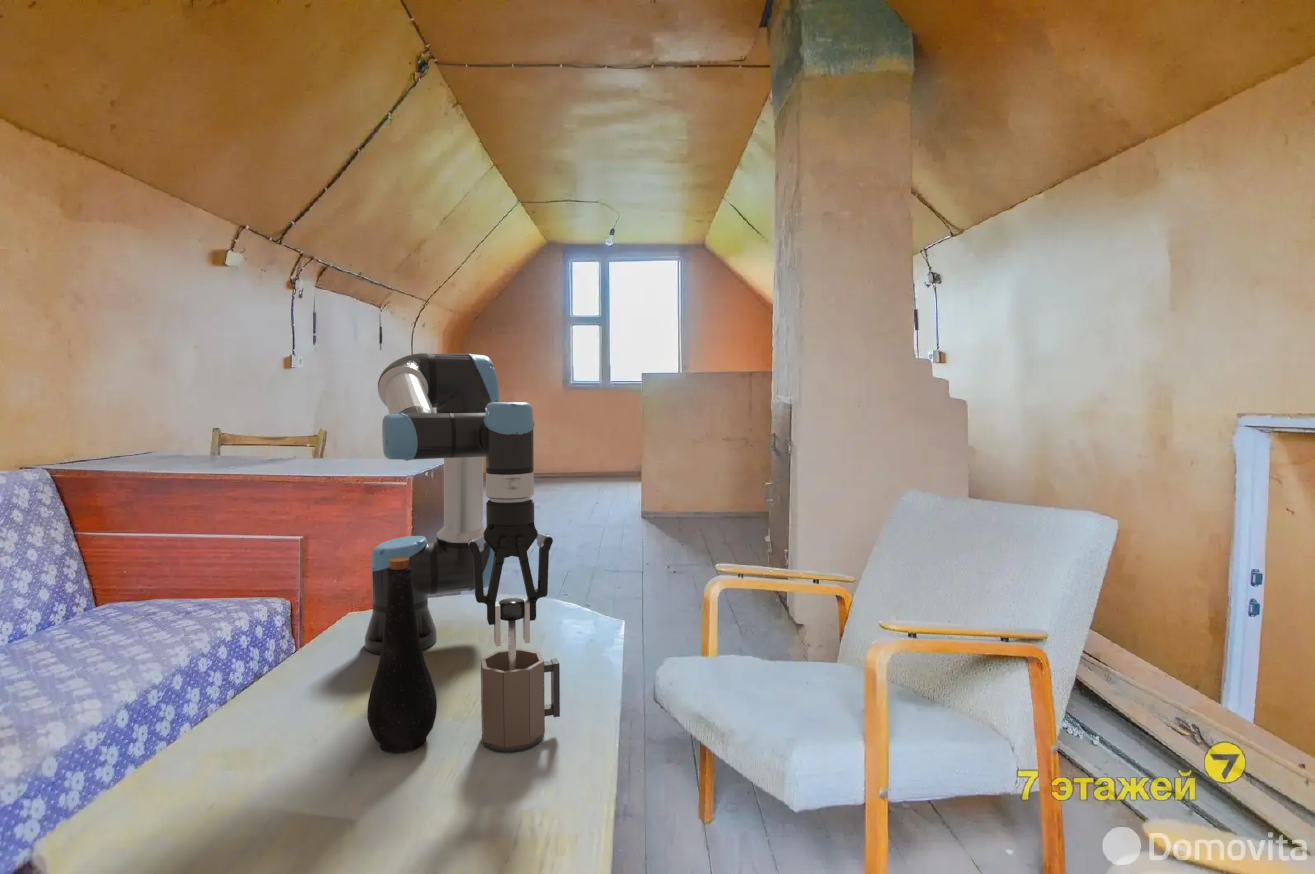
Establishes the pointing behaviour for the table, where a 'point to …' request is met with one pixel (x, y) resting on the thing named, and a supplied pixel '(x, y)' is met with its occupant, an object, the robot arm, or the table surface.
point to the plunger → (511, 624)
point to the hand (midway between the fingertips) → (512, 641)
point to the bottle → (401, 672)
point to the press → (516, 700)
